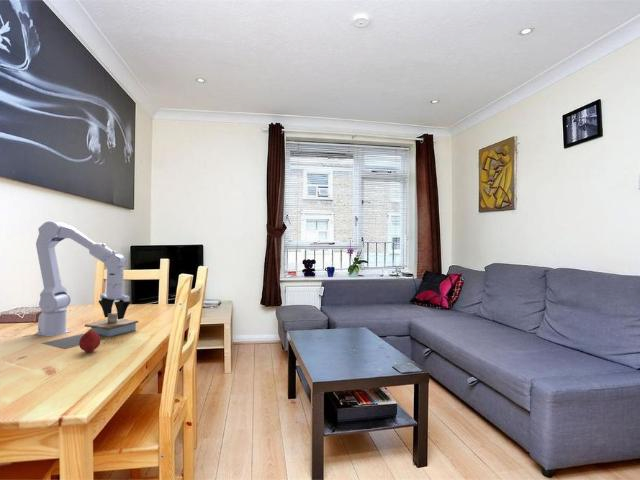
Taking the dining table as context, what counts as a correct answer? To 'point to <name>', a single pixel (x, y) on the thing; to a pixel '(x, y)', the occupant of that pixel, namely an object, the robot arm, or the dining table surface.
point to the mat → (66, 342)
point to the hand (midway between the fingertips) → (114, 317)
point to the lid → (111, 322)
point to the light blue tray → (115, 330)
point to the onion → (89, 341)
